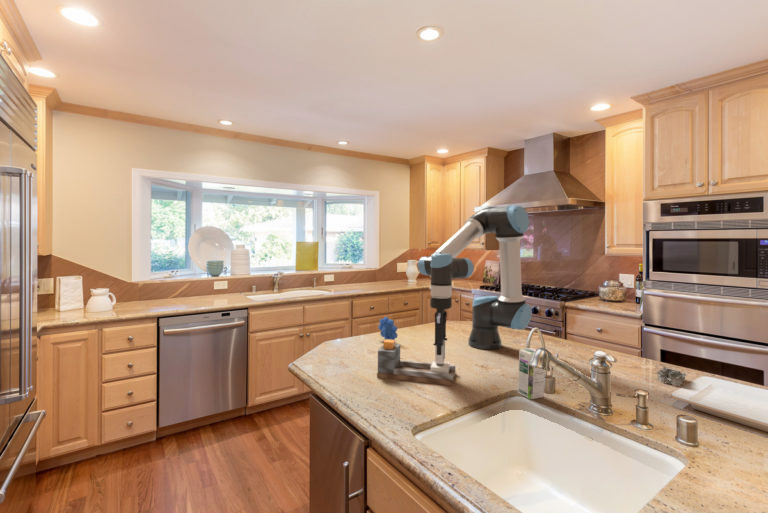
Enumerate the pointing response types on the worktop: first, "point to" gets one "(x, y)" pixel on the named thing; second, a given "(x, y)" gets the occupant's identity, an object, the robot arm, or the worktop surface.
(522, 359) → the syrup box
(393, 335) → the grapes
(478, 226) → the robot arm
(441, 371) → the carriage
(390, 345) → the button
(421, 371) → the rail base
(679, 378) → the grey ruffled clump
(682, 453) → the worktop surface
